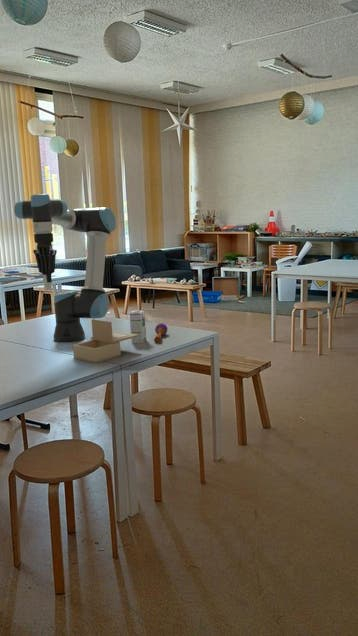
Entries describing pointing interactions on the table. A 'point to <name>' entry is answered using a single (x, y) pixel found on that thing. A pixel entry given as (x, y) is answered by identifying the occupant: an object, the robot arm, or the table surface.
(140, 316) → the syrup box
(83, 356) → the box
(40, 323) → the table surface
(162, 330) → the kendama
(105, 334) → the lid
